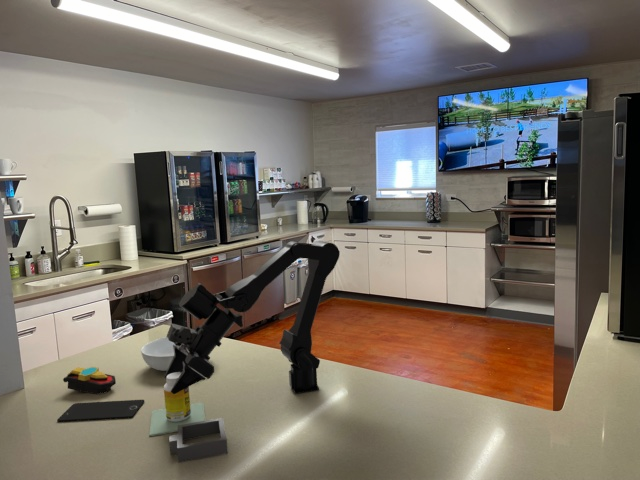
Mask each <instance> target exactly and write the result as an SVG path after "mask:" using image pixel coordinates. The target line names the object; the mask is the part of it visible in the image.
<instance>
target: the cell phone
mask: <svg viewBox="0 0 640 480" xmlns="http://www.w3.org/2000/svg"><path fill="white" fill-rule="evenodd" d="M144 404H145V399H127V400H126V399H125V400H112V401H111V400H109V401H94V402H93V401H91V402H77V403H76V402H75V403H72V405H71V406H69V408H68V409H66V411H64V412H63V413H62V414H61V415H60V416H59V417H58V418H57V420H56V421H57V423H71V422H72V423H73V422H90V421H107V420H123V419H126V420H127V419H134V417H135V416H136V415H137V413H138V412H139V411H140V410H141V408H142V407H143V405H144Z"/></svg>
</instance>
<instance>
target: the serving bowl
mask: <svg viewBox="0 0 640 480" xmlns="http://www.w3.org/2000/svg"><path fill="white" fill-rule="evenodd" d="M173 345H175V344H174V342H171V341H169V340H168V337H166V336H164V337H160V338H157V339H154V340H152V341H150V342H148V343H146V344H144V345H143V346H142V347H141V348H140V353H141V356H142V359H143V361H144V362H145V364H147V366H149V367H150V368H152V369H155V370H156V371H163V372H167V370H168V368H169V366H170V363H171V361H172V359H173V357H174V349H173ZM175 346H176V345H175ZM181 371H183V369H182V370H181Z"/></svg>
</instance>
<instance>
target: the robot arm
mask: <svg viewBox="0 0 640 480" xmlns="http://www.w3.org/2000/svg"><path fill="white" fill-rule="evenodd" d="M340 253H341V251H340V250H339V248H338V246H337V245H336V244H335V243H333V242H327V241H323V240H317V241H315V242H313V243H307V242H296V241H293V240H291V241H289V242H287V243H286V244H285V246H283V248H281V250H279V251H278V252H277V253H276V254H275V255H273V256H271V258H269V260H267V261H266V262H265V263H264V264H262V266H261V267H259V268H258V269H257V270H256V271H255V272H253V273H252V274H251V275H250V276H247V277H245V278H243V279H240V280H238V281H237V282H235V283H234V284H231V285H230V286H229V287H228V288H227V289H226V290H224V291H220V292H218V293H214V294H213V293H211V292H210V291H209V290H208V289H207V288H206V287H205V286H204V285H203V284H202V283H199V282H198V283H197V284H196V285H195V286H193V287H191V289H189V290H188V291H186V293H185V294H184V295H183V296H182V297H181V300H180V302H179V307H180V308H182V309H184V311H186V312H187V313H189V314H190V315H192V317H194V318H195V319H197V320H198V321H200V320H202V319H204V322H203V323H202V325H200V324H198V325H196V326H195V327H194V328H190V327H186V326H183V325H180V324H176V323H170V327H169V329H168V331H167V334H166V336H165V337H168V340H169V341H171V342H174V344H175V345H176V346H175V345H173V349H174V357H173V359H172V361H171V363H170V366H169V368H168V370H167V371H165V375H164V379H165V380H167V379H166V377H167V375H169V374H171V373H175V372H181V371H182V373H181V375H180V376H179V378H178V379H177V381H176V383H175V384H174V386H173V388H172V390H171V393H173V394H176V393H178V392H180V391H181V390H183V389H185V388H187V387H192V385H195V384H196V383H197V384H198V382H201V381H206V380H207V379H208V380H209V379H210V378H211V377H212V376H213V374H214V373H215V366H214V365H213V363H212V362H211V361H210V360H211V357H210V354H211V353H212V352H213V351H214V349H215V348H216V347H220V346H222V345H223V344H222V343H223V342H221V340H222V339H223V338H224V337H225V336H226V334H227V333H228V332H229V330H230V329H231V328H232V326H234V324H236V325H237V326H239V328H243V327H244V324H243V315H241V313H247V312H248V311H250V309H251V308H252V307H253V306H254V305H255V303H257V301H258V300H259V298H260V296H261V295H262V292H263V291H264V290H265V289H266V287H268V286H269V285H270V284H271V283H273V281H274V280H276V279H277V278H278V277H279V276H280V275H281V274H283V272H285V271H286V270H287V269H288V268H289V267H291V265H293V264H294V263H295V262H296V261H297V260H299V259H307V266H308V274H307V278H306V282H305V285H304V287H303V288H304V289H303V292H302V296H301V299H300V301H299V304H298V305H299V306H298V308H297V312H296V315H295V319H294V321H293V322H294V323H293V325H292V326H291V327H290V328H289V330H288V329H286V328H284V329H283V332H282V337H281V340H280V341H279V345H280V352H281V353H282V355H283V356H284V357H285V358H286V359H287V360H288V362H289V363H290V370H289V371H288V380H289V381H288V383H289V387H290V388H291V390H293V392H294V394H295V395H296V394H302V393H310V392H314V391H315V392H316V391H319V390H320V386H319V385H318V377H317V376H318V375H317V373H318V370H317V369H318V368H319V366H320V362H321V360H320V359H319V358H317V356H316V355H314V354H313V353H312V348H313V347H312V346H313V339H312V329H313V324H314V321H315V317H316V315H317V311H318V306H319V304H320V301H321V297H322V293H323V290H324V286H325V283H326V280H327V278H328V276H329V275H330V274H331V273H332V272H333V270H334V269H335V267H336V266H337V263H338V261H339V259H340ZM218 304H219V305H220V306H222V307H223V309H222V308H220V307H219V306H218ZM230 309H232V310H234V311H235V312H236V313H237V312H238V313H237V314H236V313H234V312H233V311H232V310H230ZM182 369H183V370H182Z"/></svg>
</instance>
